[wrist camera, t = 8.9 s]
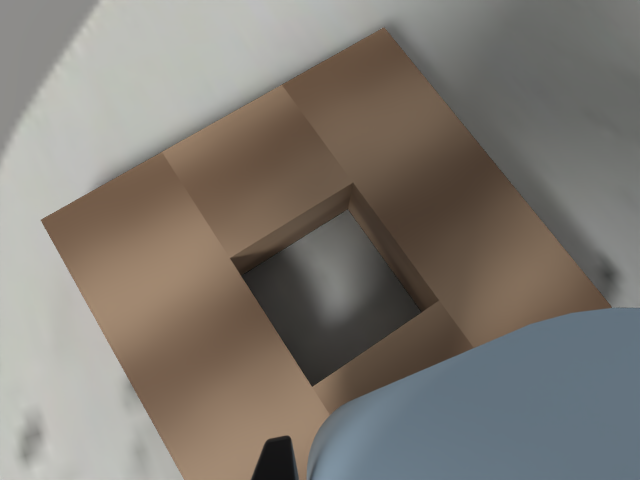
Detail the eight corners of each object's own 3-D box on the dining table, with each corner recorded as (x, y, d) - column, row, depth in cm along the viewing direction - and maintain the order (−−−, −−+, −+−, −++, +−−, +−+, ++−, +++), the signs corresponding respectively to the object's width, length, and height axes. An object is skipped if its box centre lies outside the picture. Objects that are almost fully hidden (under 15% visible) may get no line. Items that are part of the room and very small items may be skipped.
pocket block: (598, 350, 24) (639, 340, 21) (270, 596, 21) (264, 624, 18) (376, 68, 27) (384, 27, 24) (71, 242, 24) (40, 219, 22)
